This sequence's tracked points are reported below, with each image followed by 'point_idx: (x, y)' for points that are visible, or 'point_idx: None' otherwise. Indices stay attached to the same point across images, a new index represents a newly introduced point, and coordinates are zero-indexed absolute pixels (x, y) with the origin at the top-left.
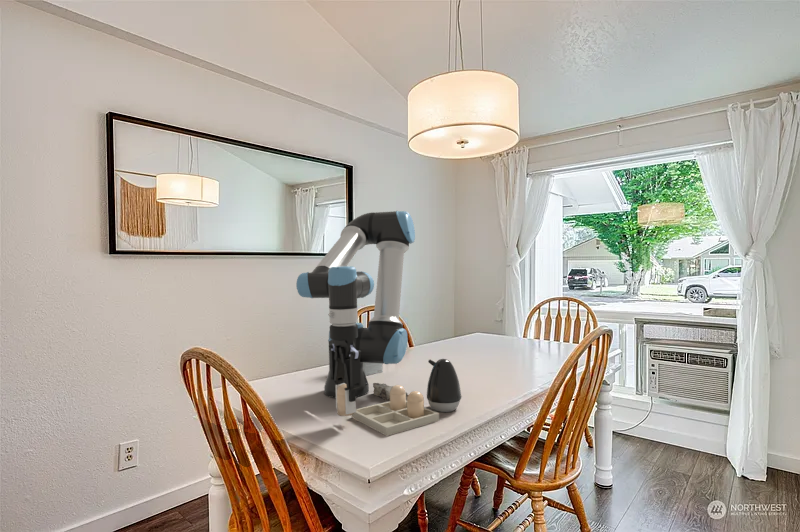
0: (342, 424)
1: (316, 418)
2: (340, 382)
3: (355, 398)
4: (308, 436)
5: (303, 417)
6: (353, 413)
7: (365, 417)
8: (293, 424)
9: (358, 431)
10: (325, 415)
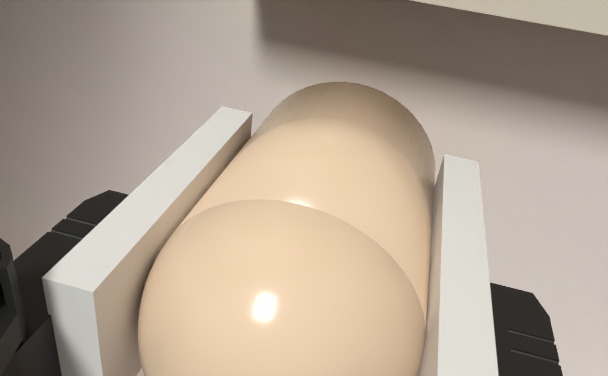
0: None
1: (64, 140)
2: (39, 358)
3: (550, 330)
4: None
5: (2, 179)
6: (431, 147)
7: (523, 19)
8: None
9: (541, 132)
10: (37, 54)
